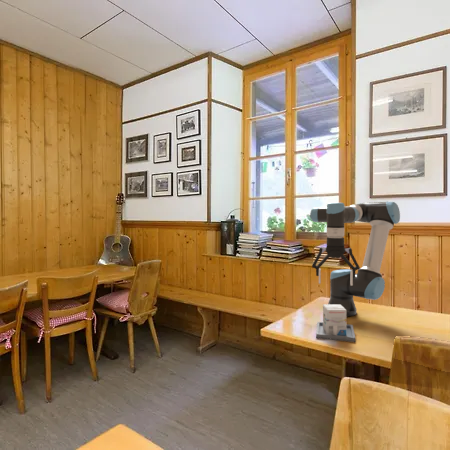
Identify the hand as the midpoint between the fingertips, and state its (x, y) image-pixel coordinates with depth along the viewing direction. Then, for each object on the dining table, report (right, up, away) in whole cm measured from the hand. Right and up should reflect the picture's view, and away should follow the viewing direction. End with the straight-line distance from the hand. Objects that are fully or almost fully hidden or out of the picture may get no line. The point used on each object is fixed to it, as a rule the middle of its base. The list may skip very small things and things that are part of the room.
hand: (335, 284), depth 145 cm
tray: (0, -23, +1) cm, 23 cm away
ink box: (0, -22, +1) cm, 22 cm away
